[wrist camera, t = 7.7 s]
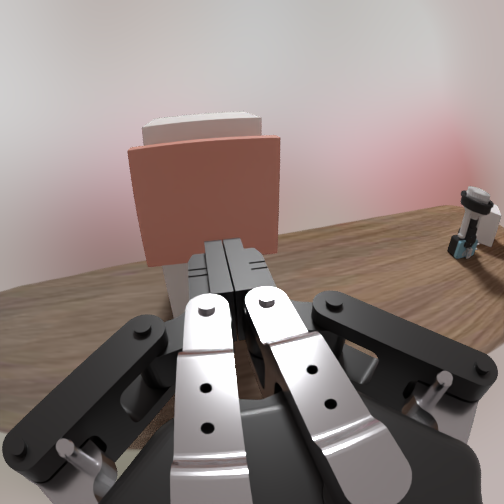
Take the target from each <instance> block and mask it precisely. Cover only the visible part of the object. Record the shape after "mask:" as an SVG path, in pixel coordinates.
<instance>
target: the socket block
mask: <svg viewBox="0 0 504 504" xmlns="http://www.w3.org/2000/svg"><path fill="white" fill-rule="evenodd" d="M142 134H143V144H144V146H145V145H152V144H160V143H168V142H177V141H186V140H196V139H208V138H222V137H239V136H261V117H258V116H256V115H253V114H250V113H247V112H221V113H206V114H193V115H183V116H174V117H165V118H157V119H154V120H152V121H151V122H149V123H148V124H146V125H145V126H143V127H142ZM162 267H163V272H164V277H165V282H166V286H167V291H168V295H169V300H170V304H171V308H172V312H173V317H174V318H177V317H178V316H180V315H181V314H183V313H184V312H185V309H186V305H187V304H188V302H189V284H188V263H182V264H173V265H164V266H162Z"/></svg>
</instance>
